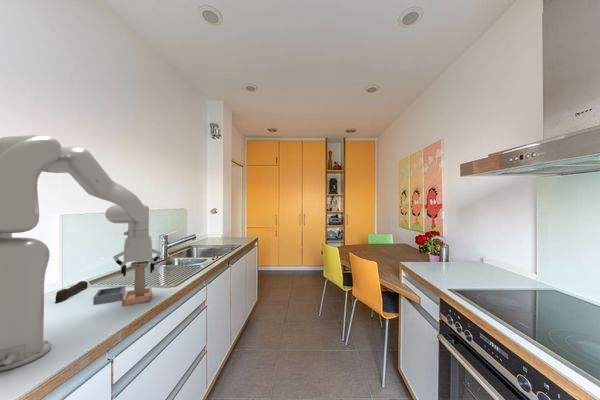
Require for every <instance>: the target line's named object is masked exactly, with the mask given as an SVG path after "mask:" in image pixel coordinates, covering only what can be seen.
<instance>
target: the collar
mask: <svg viewBox="0 0 600 400" xmlns="http://www.w3.org/2000/svg"><path fill="white" fill-rule="evenodd" d="M125 293H126V285H124V286H115V287H109V288H100V289H98V291H97V292H96V293H95V294H94V296H93V298H92V299H93V301H92V303H93V304H92V305H93V306H94V305H95V306H96V305H101V304H107V303H114V302H120V301H122V300H123V297H124V295H125Z"/></svg>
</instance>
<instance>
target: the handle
mask: <svg viewBox="0 0 600 400" xmlns="http://www.w3.org/2000/svg"><path fill="white" fill-rule="evenodd" d="M147 266H150V261H149V260H145V261H135V262H131V263H130V267H131V268H134V270H135V271H134V273H135V274H134V282H133V283H134V284H133V285H134V287H133V288H134V289H133V290H134V291H135V297H141V296H144V293H145V288H146V273H145V272H146V271H145V270H146V269H145V268H146V267H147Z"/></svg>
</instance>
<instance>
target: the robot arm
mask: <svg viewBox="0 0 600 400" xmlns="http://www.w3.org/2000/svg"><path fill="white" fill-rule="evenodd" d="M42 173H49V174H50V173H51V174H54V173H55V174H69V175H70V176H71V177H72V178H73V179H74V180H75V181H76V183H77V184H78V185H79V186H80V187H81V188H82V189H83V190H84V191H85V192H86V193H87V194H88V195H89V196H92V197H95V198H98V199H100V200H103V201H107V202H110V203H113V205H111V206H110V207H108V208H107V209H106V210H105V214H104V215H105V218H106V220H107V221H109V223H113V224H127V230H126V231H123V235H124V236H126V237H125V238H124V239H125V240H124V246H123V251H122V252H119V253H117V254H115V255H113V257H112V258H113V260H114V261H115V263H116V264H117V265H119V266H120V270H121V271H120V274H121V275H122V277H125V276H126V275H127V263H130V262H131V263H133V262H139V261H149V266H150V267H149V269H150V270H149V272H150V274H153V271H155V263H156V262H158V260H159V259H160V257H161V256H162V251H160V250H158V249H154V248H153V241H152V236H150V208H149V206H148V205H146V204H143V202H142V201H141V200H140V198H139V197H138V196H137V195H136V194H135V193H133V192H132V191H131V190H129V189H128V188H125V187H124V186H122V185H121V184H119V183H118V182H115V181H114V180H113V179H112V178H111V177H110V175H109V174H108V173H107V172H106V171H105V169H104V168H103V167H102V166H101V165H100V163H99V161H97V159H96V158H95V156H93V154H92V153H91V152H90V151H88V150H87V149H86V148H83V147H80V146H62V144H61V143H60V142H59V141H58V140H57V139H56V138H54V137H52V136H49V135H43V134H42V135H41V134H30V135H29V134H27V135H13V136H3V137H0V372H3V371H7V370H11V369H14V368H18V367H20V366H23V365H26V364H28V363H31V362H34V361H35V360H37V359H39V358H40V357H43V356H44V355H45V354H46V353H48V352H49V351H50V350H51V348H52V342H51V341H50V340H46V339H44V329H45V328H44V326H45V325H44V324H45V322H44V321H45V315H44V314H45V279H46V272H47V268H48V264H49V261H50V254H51V253H50V249H49V247H48V245H47V244H45V242H43V241H41V240H40V239H36V238H32V237H18V236H15V237H13V234H20V233H25V232H29V231H31V230H33V229H34V228H36V227H37V226H38V224H39V222H40V206H39V205H40V204H39V196H38V195H39V194H38V181H39V177H40V176H41V174H42ZM153 254H156V256H155V257H154V258H153ZM121 256H123V258H122V259H123V261H122V260H121V259H120V257H121Z"/></svg>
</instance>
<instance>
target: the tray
mask: <svg viewBox="0 0 600 400" xmlns="http://www.w3.org/2000/svg"><path fill="white" fill-rule="evenodd" d="M152 288H153V287H145V293H144V296H141V297H135V291H134V289H132V290H125V295H124V297H123V300H121V301H122V302H121V303H122V305H121V306H122V307H126V306H133V305H138V304H145V302H146V303H150V301H152V292H153V291H152V290H153V289H152Z"/></svg>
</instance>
